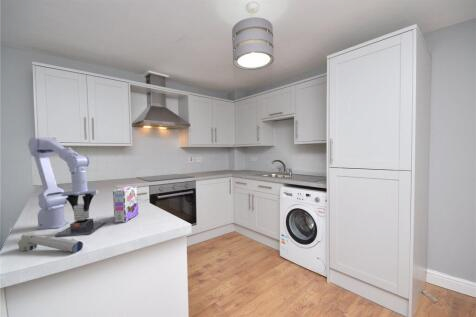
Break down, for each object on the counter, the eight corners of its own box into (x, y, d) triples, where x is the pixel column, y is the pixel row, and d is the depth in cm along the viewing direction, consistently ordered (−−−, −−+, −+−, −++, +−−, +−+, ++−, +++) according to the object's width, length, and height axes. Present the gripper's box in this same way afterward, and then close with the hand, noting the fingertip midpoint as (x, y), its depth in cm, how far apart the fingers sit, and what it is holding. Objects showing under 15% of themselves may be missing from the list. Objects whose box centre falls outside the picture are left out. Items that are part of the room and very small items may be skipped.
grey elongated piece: (72, 244, 75) (13, 232, 79) (71, 262, 75) (13, 249, 79) (85, 238, 80) (29, 227, 84) (84, 255, 81) (29, 243, 85)
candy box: (125, 222, 108) (123, 190, 107) (114, 223, 108) (112, 190, 107) (138, 214, 121) (137, 185, 121) (128, 214, 122) (127, 185, 121)
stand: (55, 237, 92) (54, 227, 92) (75, 225, 106) (74, 217, 105) (90, 234, 94) (90, 225, 94) (105, 223, 108) (105, 215, 107)
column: (74, 220, 97) (73, 205, 97) (79, 217, 101) (78, 203, 101) (84, 220, 98) (83, 205, 97) (89, 217, 102) (88, 203, 101)
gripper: (55, 183, 94) (58, 214, 94) (92, 182, 96) (93, 212, 96) (66, 181, 101) (68, 210, 101) (99, 179, 103) (101, 207, 103)
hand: (81, 210), depth 99 cm, fingers closed on column, 4 cm apart
